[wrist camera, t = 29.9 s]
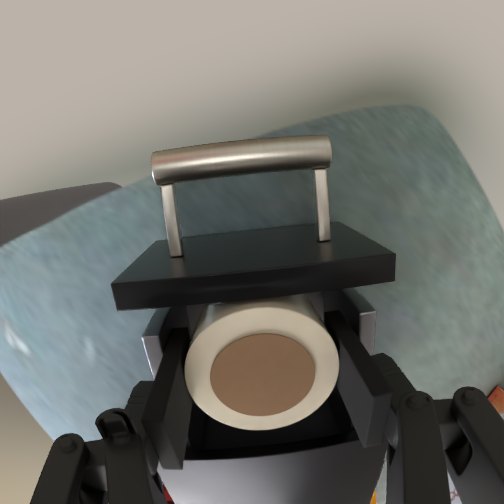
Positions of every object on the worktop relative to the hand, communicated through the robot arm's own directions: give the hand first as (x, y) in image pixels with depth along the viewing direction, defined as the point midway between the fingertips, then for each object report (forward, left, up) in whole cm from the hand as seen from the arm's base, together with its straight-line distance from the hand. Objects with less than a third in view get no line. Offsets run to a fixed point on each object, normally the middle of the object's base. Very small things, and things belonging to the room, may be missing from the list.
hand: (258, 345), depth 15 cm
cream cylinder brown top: (0, 0, 0) cm, 0 cm away
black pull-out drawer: (0, +1, -5) cm, 6 cm away
